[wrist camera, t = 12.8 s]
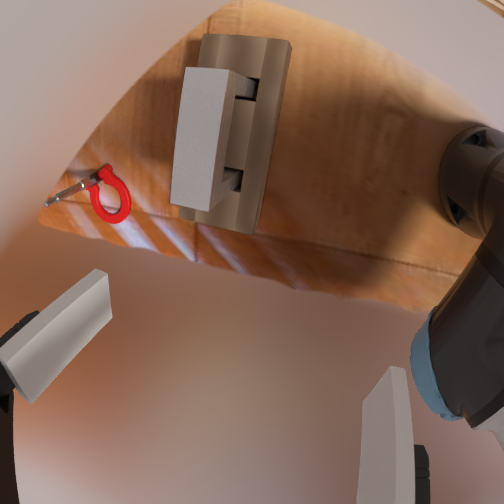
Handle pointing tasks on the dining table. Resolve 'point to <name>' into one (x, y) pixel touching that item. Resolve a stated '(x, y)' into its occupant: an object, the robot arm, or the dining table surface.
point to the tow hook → (93, 188)
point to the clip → (206, 137)
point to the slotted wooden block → (246, 124)
